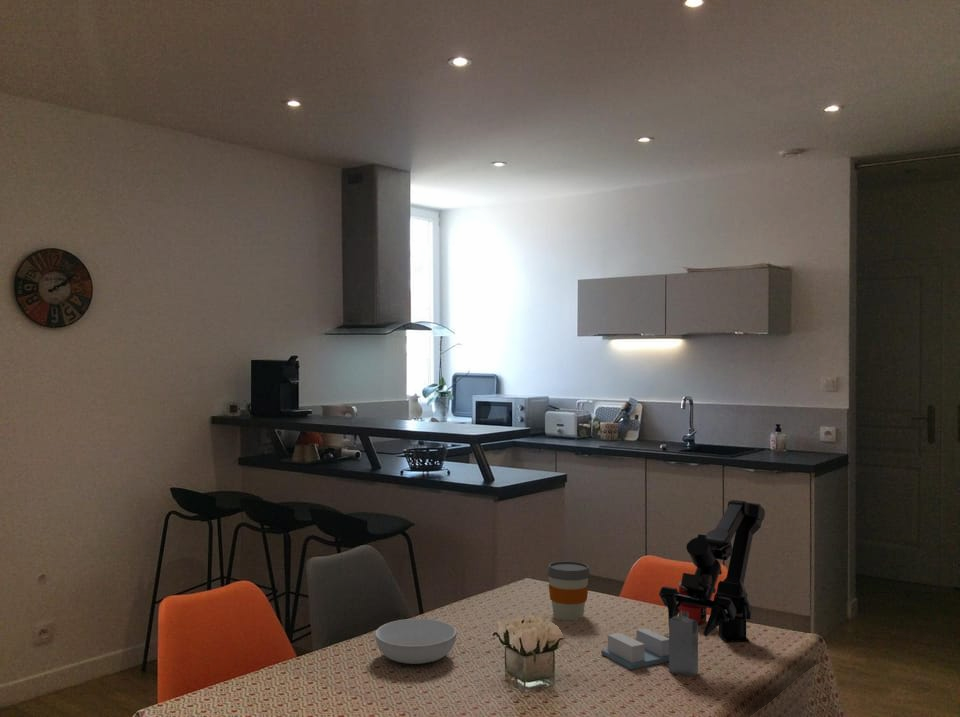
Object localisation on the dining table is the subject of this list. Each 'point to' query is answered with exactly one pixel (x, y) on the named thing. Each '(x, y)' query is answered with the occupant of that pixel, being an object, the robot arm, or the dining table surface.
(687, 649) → the steel bar
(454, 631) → the serving bowl
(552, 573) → the reusable coffee cup
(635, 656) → the vise
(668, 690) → the dining table surface
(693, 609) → the canned food
